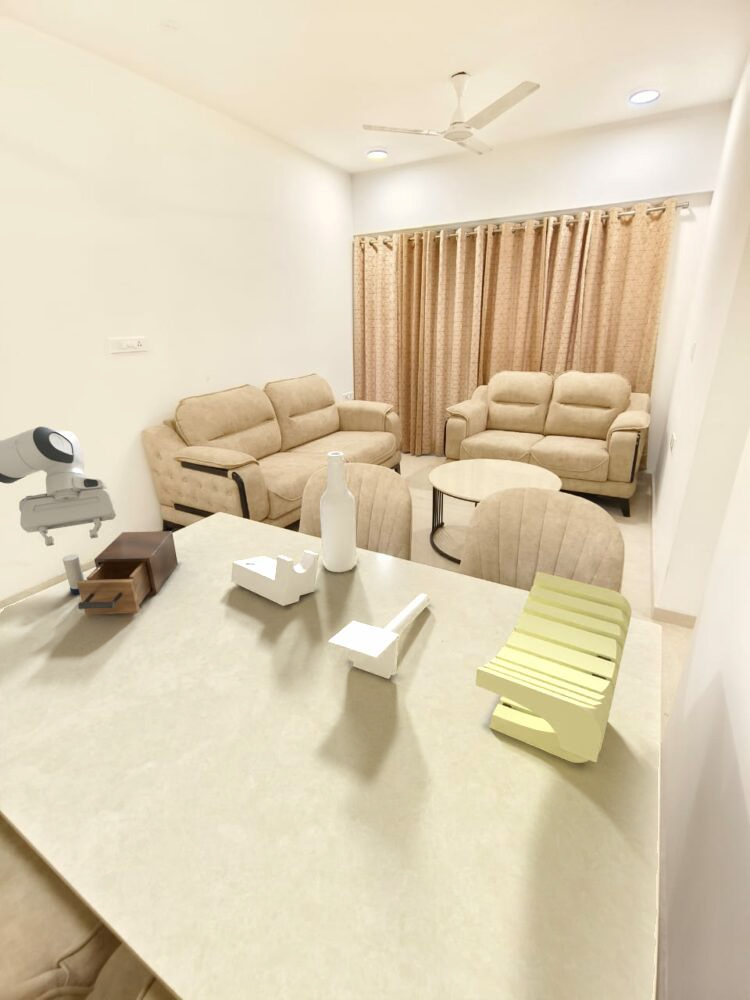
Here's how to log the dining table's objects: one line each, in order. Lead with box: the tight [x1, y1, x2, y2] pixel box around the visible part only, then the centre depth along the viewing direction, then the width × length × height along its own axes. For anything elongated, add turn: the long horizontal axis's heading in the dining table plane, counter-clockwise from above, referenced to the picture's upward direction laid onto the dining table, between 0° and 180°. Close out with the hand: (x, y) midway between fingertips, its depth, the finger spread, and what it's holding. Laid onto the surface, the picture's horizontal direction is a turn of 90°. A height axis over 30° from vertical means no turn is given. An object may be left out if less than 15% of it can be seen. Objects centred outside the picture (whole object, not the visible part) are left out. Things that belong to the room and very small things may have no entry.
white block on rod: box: [327, 593, 431, 680], centre depth 98 cm, size 9×9×32 cm
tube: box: [62, 553, 85, 596], centre depth 118 cm, size 3×3×9 cm
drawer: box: [77, 561, 152, 615], centre depth 112 cm, size 18×11×8 cm, turn 1°
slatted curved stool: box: [475, 571, 632, 764], centre depth 78 cm, size 30×16×18 cm, turn 148°
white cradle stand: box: [230, 549, 320, 607], centre depth 119 cm, size 18×10×10 cm, turn 53°
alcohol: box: [319, 451, 358, 573], centre depth 124 cm, size 9×9×30 cm
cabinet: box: [93, 530, 179, 595], centre depth 123 cm, size 15×13×10 cm
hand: (72, 541), depth 121 cm, fingers open, 8 cm apart
